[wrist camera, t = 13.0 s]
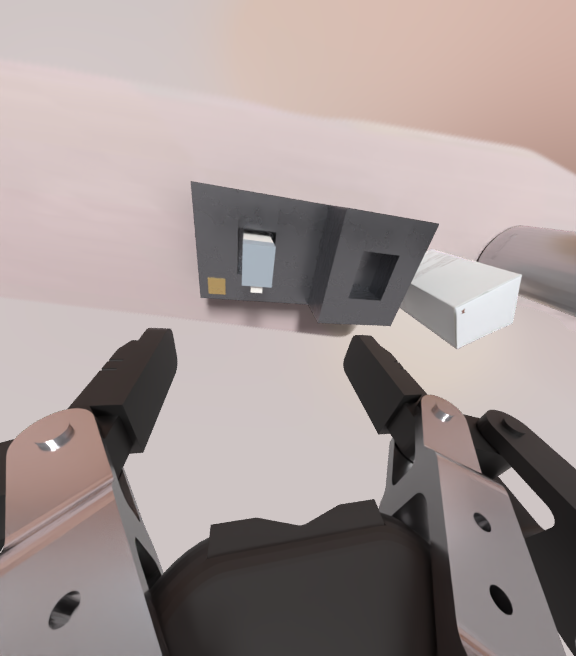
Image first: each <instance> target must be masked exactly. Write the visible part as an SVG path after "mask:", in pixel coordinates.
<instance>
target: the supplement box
mask: <svg viewBox="0 0 576 656" xmlns="http://www.w3.org/2000/svg"><path fill="white" fill-rule="evenodd" d="M521 277H522V275H521V274H518V273H514V272H510V271H507V270H503V269H500V268H496V267H493V266H489V265H486V264H482V263H479V262H476V261H472V260H469V259H465V258H462V257H458V256H455V255H451V254H448V253H444V252H441V251H437V250H434V249H431V250H429V251H427V252H426V253H425V255H424V257H423V259H422V261H421V263H420V265H419V267H418V270H417V272H416V274H415V276H414V278H413V280H412V282H411V284H410V286H409V288H408V290H407V293H406V295H405V297H404V299H403V301H402V303H401V305H400V307H399V308H401V309H402V310H404V311H405V312H406V313H408V314H409V315H411V316H412V317H413V318H415V319H416V320H417V321H419V322H420V323H421V324H423V325H424V326H426V327H427V328H428V329H430V330H431V331H432V332H434V333H435V334H437V335H438V336H440V337H441V338H442V339H443V340H445V341H446V342H448V343H449V344H450V345H452V346H453V347H455V348H456V349H459V348H461V347H463V346H465V345H467V344H469V343H471V342H473V341H475V340H478V339H480V338H482V337H484V336H486V335H488V334H490V333H493V332H495V331H497V330H499V329H501V328H503V327H505V326H508V325H510V324H512V323H513V319H514V314H515V309H516V304H517V298H518V292H519V286H520V282H521Z"/></svg>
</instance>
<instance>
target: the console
mask: <svg viewBox="0 0 576 656" xmlns="http://www.w3.org/2000/svg"><path fill="white" fill-rule="evenodd" d="M191 190H192V202H193V213H194V225H195V237H196V248H197V260H198V272H199V284H200V295H201V298H214V299H230V300H246V301H262V302H279V303H295V304H308V306H309V308H310V309H311V311H312V313H313V315H314V317H315V319H316V321H317V322H318V323H332V324H356V325H383V326H391V324H392V322H393V320H394V317H395V315H396V313H397V311H398V309H399V307H400V305H401V303H402V301H403V299H404V297H405V295H406V293H407V290H408V288H409V286H410V284H411V282H412V280H413V278H414V276H415V274H416V272H417V270H418V267H419V265H420V263H421V261H422V259H423V257H424V255H425V253H426V251H427V249H428V247H429V244H430V242H431V240H432V238H433V236H434V234H435V232H436V230H437V228H438V226H439V224H437V223H432V222H426V221H420V220H414V219H409V218H403V217H397V216H392V215H386V214H380V213H374V212H369V211H363V210H357V209H351V208H345V207H338V206H331V205H325V204H319V203H313V202H308V201H302V200H296V199H290V198H285V197H279V196H273V195H267V194H262V193H256V192H250V191H244V190H239V189H233V188H227V187H221V186H216V185H210V184H204V183H198V182H192V181H191ZM244 230H246V231H254V232H262V233H269V235H270V237H271V239H272V241H273V243H274V245H275V247H276V250H275V259H274V269H273V279H272V288H269V287H263V288H262V293H252V292H251V291H250V286H242V255H243V236H244Z"/></svg>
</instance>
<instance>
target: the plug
mask: <svg viewBox="0 0 576 656" xmlns="http://www.w3.org/2000/svg"><path fill="white" fill-rule="evenodd" d="M275 250H276V247H275V245H274V243H273V241H272V239H271V237H270V235H269V233H262V232H254V231H246V230H244V236H243V255H242V286H250V291H251V292H252V293H262V288H263V287H269V288H272V279H273V269H274V259H275Z"/></svg>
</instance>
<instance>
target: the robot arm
mask: <svg viewBox="0 0 576 656" xmlns="http://www.w3.org/2000/svg"><path fill="white" fill-rule="evenodd" d="M478 262H479V263H482V264H486V265H489V266H493V267H496V268H500V269H503V270H507V271H510V272H514V273H518V274H521V275H522V277H521V282H520V286H519V292H518V296H521V297H524V298H526V299H529V300H532V301H534V302H537V303H540V304H542V305H545V306H548V307H550V308H553V309H556V310H558V311H561V312H564V313H566V314H569V315H571V316H574V317H576V232H573V231H564V230H556V229H548V228H539V227H530V226H515V227H512V228H510V229H508V230H506V231H504V232H502V233H501V234H500V235H498V236H497V237H496V238H495V239H494V240H493V241H492V242H491V243H490V244H489V245H488V246H487V247H486V249H485V250H484V251H483V253H482V255H481V256H480V258H479V261H478ZM343 366H344V371H345V373H346V375H347V377H348V379H349V381H350V382H351V384H352V386H353V388H354V390H355V392H356V394H357V395H358V397H359V399H360V401H361V403H362V405H363V407H364V408H365V410H366V412H367V414H368V416H369V418H370V419H371V421H372V423H373V425H374V427H375V429H376V431H377V433H378V434H391V436H392V437H393V438H392V440H391V441H390V445H389V456H388V457H389V458H388V468H387V479H386V488H385V492H384V495H383V498H382V500H381V502H380V506H379V509H378V507H377V505H376V502H375V500H374V499H372V500H366V501H360V502H353V503H347V504H341V505H338V506H336V507H335V508H333V509H331V510H329V511H327V512H326V513H324V514H322V515H321V516H319V517H317V518H315V519H314V520H312V521H310V522H309V523H307V524H305V525H301V526H298V525H292V524H288V523H282V522H277V521H271V520H266V519H261V518H251V519H245V520H238V521H232V522H226V523H220V524H213V525H211V528H210V537H209V538H207V539H205V540H203V541H201V542H199V543H198V544H197V545H195V546H194V547H192V548H191V549H189V550H188V551H187V552H185V553H184V554H183V555H182V556H181V557H180V558H178V559H177V560H176V561H175V562H174V563H173V564H172V565H171V566H170V567H169V568H168V569H167V570H166V572H164V573H163V570H162V567H161V565H160V562H159V559H158V557H157V554H156V551H155V549H154V546H153V544H152V541H151V539H150V537H149V535H148V533H147V531H146V528H145V526H144V523H143V521H142V518H141V515H140V512H139V509H138V507H137V504H136V501H135V498H134V496H133V493H132V490H131V487H130V485H129V482H128V479H127V476H126V473H125V471H124V468H123V466H124V464H125V462H126V459H127V457H128V455H129V454H131V453H143V452H144V449H145V447H146V444H147V442H148V439H149V437H150V435H151V432H152V430H153V427H154V425H155V422H156V420H157V417H158V415H159V412H160V410H161V407H162V405H163V403H164V400H165V398H166V395H167V393H168V390H169V388H170V386H171V383H172V381H173V378H174V376H175V373H176V370H177V355H176V349H175V343H174V338H173V333H172V330H171V329H166V328H165V329H163V328H148V329H147V330H146V331H145V332H144V333H143V335H142V336H141V338H140V339H139V340H138V341H136V340H132V341H130V342H128V343H127V344H125V345H124V346H122V347H120V348H119V349H118V350H117V351H116V352H115V353H114V355H113V356H112V357H111V358H110V359H109V362H107V363H106V364H105V365H104V366H103V368H102V371H99V372H98V373H97V375H96V376H95V377H94V378H93V380H92V381H91V382H90V383H89V384H88V385H87V387H86V388H85V389H84V390H83V391H82V393H81V394H80V395H79V396H78V397H77V398H76V400H75V401H74V402H73V403H72V404H71V405H70V407H69V408H68V409H67V410H62V411H59V412H56V413H53V414H50V415H48V416H46V417H44V418H42V419H40V420H38V421H37V422H35V423H33V424H32V425H30V426H29V427H28V428H26V429H25V430H23V431H22V432H21V433H20V434H19V435H18V436H17V437H16V438H15V439H13V440H9V441H6V442H2V443H0V551H1V549H2V548H3V546H4V548H3V550H2V552H1V553H0V656H566V654H565V651H564V648H563V645H562V643H561V640H560V637H559V635H558V633H559V634H560V635H561V637H562V639H563V640H564V642H565V643H566V645H567V646H568V648H569V649H570V650H571V652H572V653H573V655H574V656H576V469H575V468H574V467H572V466H571V465H570V464H569V463H568V462H567V461H566V460H565V459H563V458H562V457H561V456H560V455H559V454H558V453H557V452H555V451H554V450H553V449H552V448H551V447H550V446H549V445H547V444H546V443H545V442H544V441H543V440H542V439H541V438H539V437H538V436H537V435H536V434H535V433H534V432H533V431H531V430H530V429H529V428H528V427H527V426H526V425H524V424H523V423H522V422H520V421H519V420H517V419H516V418H514V417H512V416H510V415H508V414H506V413H504V412H501V411H497V410H489V411H487V412H486V413H485V414H484V415H483V416H482V417H481V418H476V417H472V416H468V415H463V414H462V412H461V411H460V410H459V409H458V408H457V407H455V406H454V405H453V404H451V403H450V402H449V401H447V400H445V399H443V398H440V397H438V396H435V395H427V394H426V392H425V391H424V390H423V389H422V388H421V387H420V386H419V385H418V383H417V382H416V381H415V380H414V379H413V378H412V377H411V376H410V374H409V373H407V371H406V370H404V369H403V367H402V366H401V364H400V363H398V362H397V360H396V359H395V358H394V356H393V355H392V354H391V353H390V352H388V351H387V350H385V349H384V348H383V347H381V346H380V345H379V344H378V343H377V342H376V340H375V339H374V338H373V337H372V336H366V335H355V336H353V338H352V340H351V342H350V345H349V348H348V350H347V353H346V356H345V358H344V363H343ZM511 467H512V468H513V469H514V470H515V471H516V472H517V473H518V474H519V475H520V476H521V478H522V479H523V480H524V481H525V482H526V483H527V484H528V485H529V486H530V487H531V489H532V490H533V491H534V492H536V494H537V495H538V496H539V497H540V498H541V499H542V500H543V502H544V503H545V504H546V505H547V506H548V507H549V509H550V510H551V512H552V514H553V516H554V519H555V524H554V526H553V527H552V528H550V529H547V530H544V529H542V528H541V527H540V526H539V525H538V524H537V523H536V521H535V520H534V519H533V518H532V516H531V515H530V514H529V513H528V512H527V510H526V509H525V508H524V507H523V506H522V504H521V503H520V502H519V501H518V500H517V499H516V497H515V496H514V495H513V494H512V492H511V491H510V490H509V489H508V488H507V487H506V485H505V484H504V483H503V482H502V481H501V479H500V478H499V477H498V476H499V475H500V474H502V473H503V472H505V471H506V470H508V469H509V468H511ZM557 631H558V632H557Z"/></svg>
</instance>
